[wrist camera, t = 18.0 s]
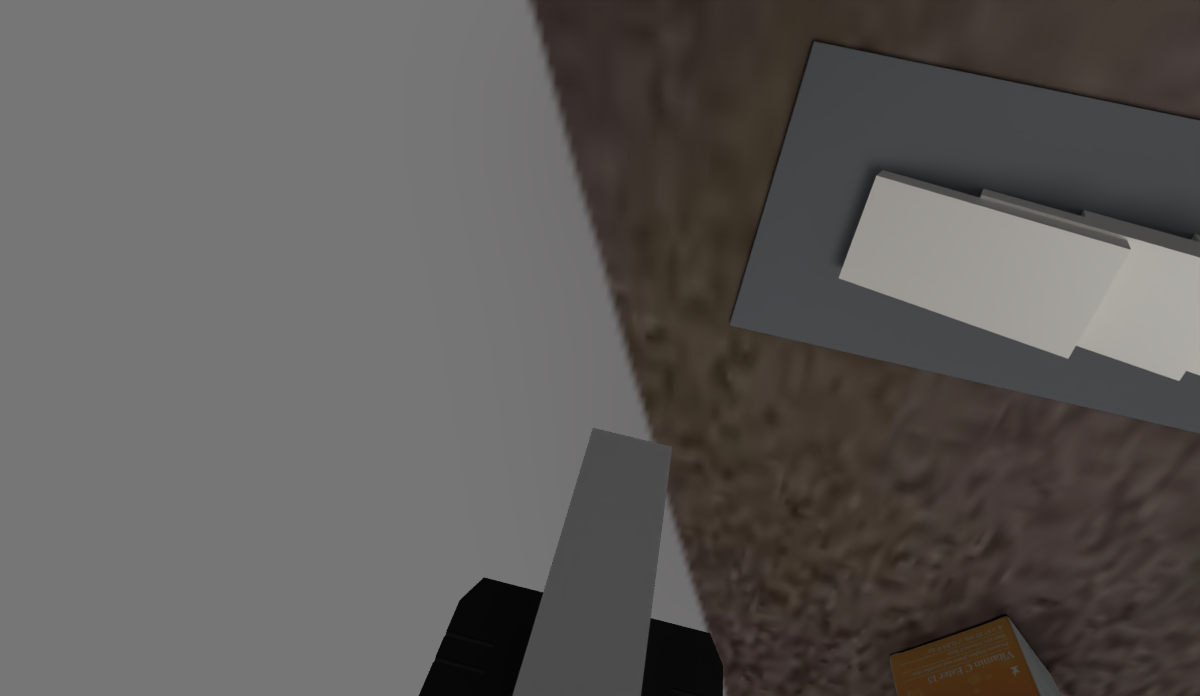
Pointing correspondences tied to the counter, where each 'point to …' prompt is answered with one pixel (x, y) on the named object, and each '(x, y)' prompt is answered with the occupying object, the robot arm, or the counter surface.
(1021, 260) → the end domino
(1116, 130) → the mat
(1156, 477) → the counter surface
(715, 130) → the counter surface
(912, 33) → the counter surface
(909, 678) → the small box
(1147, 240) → the domino
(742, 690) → the counter surface
